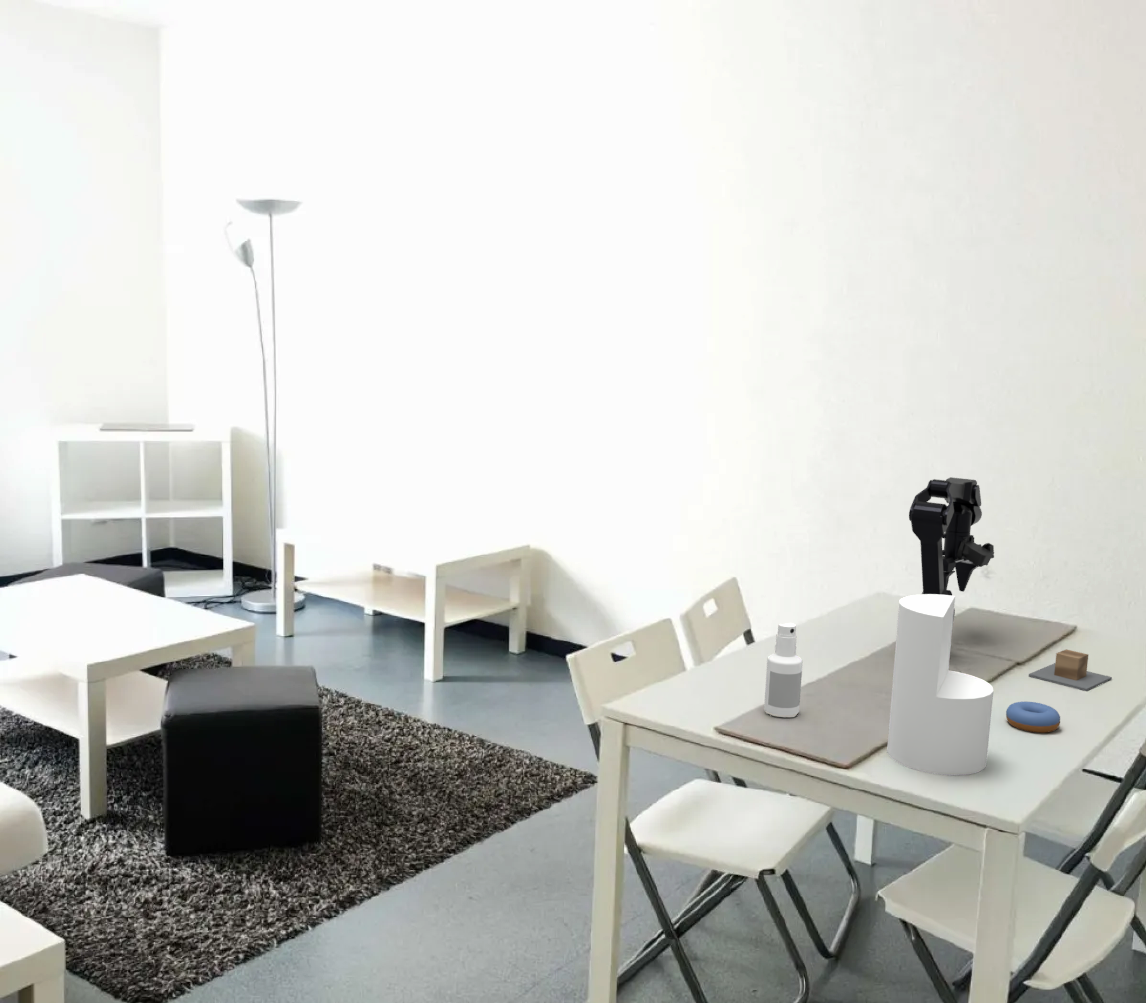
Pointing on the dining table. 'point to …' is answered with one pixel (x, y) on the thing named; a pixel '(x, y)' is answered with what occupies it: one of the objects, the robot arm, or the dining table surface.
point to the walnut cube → (1071, 664)
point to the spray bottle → (784, 674)
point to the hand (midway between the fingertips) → (952, 594)
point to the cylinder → (935, 695)
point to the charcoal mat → (1082, 684)
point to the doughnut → (1033, 717)
